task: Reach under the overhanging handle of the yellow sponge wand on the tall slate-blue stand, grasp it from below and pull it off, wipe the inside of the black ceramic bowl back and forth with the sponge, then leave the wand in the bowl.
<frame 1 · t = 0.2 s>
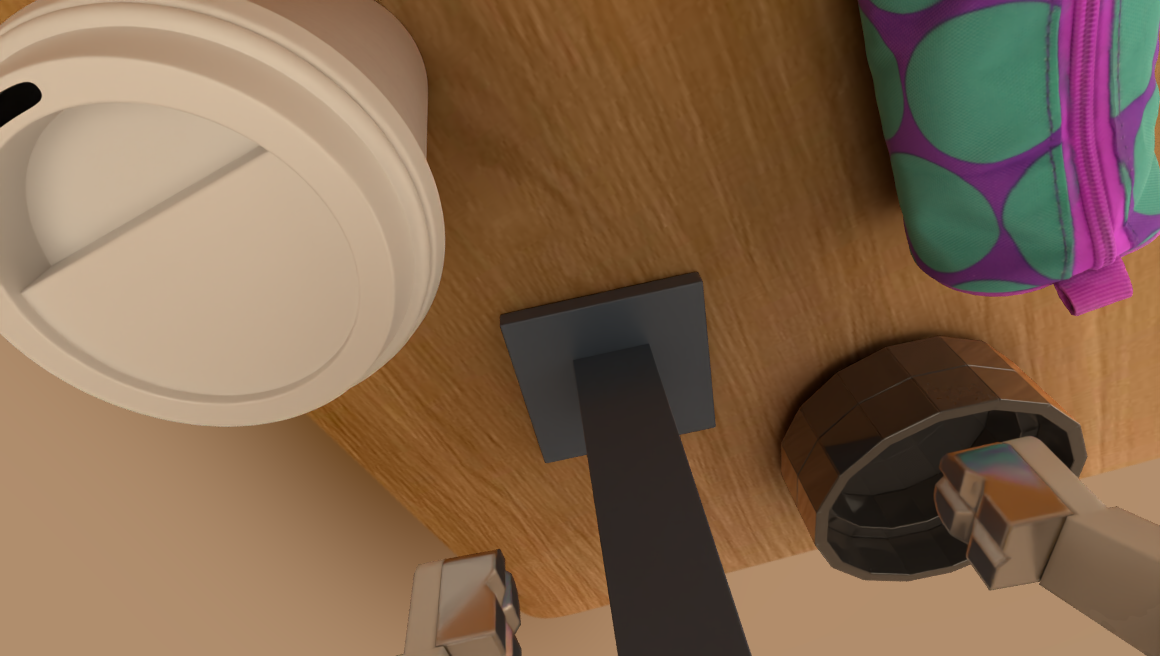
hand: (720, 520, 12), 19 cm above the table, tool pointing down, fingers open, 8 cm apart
stand: (614, 369, 34), on the table
bowl: (890, 424, 39), on the table
coffee cup: (343, 79, 24), on the table
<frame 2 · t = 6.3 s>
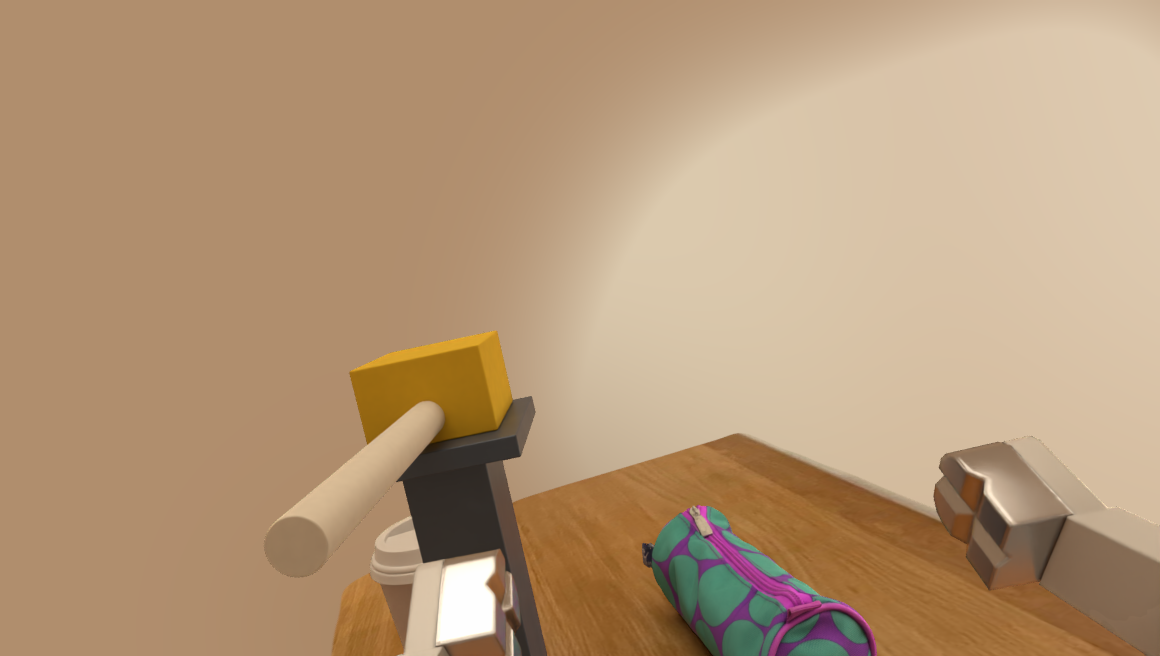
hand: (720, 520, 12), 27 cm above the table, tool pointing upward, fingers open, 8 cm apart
sponge wand: (448, 426, 31), point 26 cm above the table, touching stand
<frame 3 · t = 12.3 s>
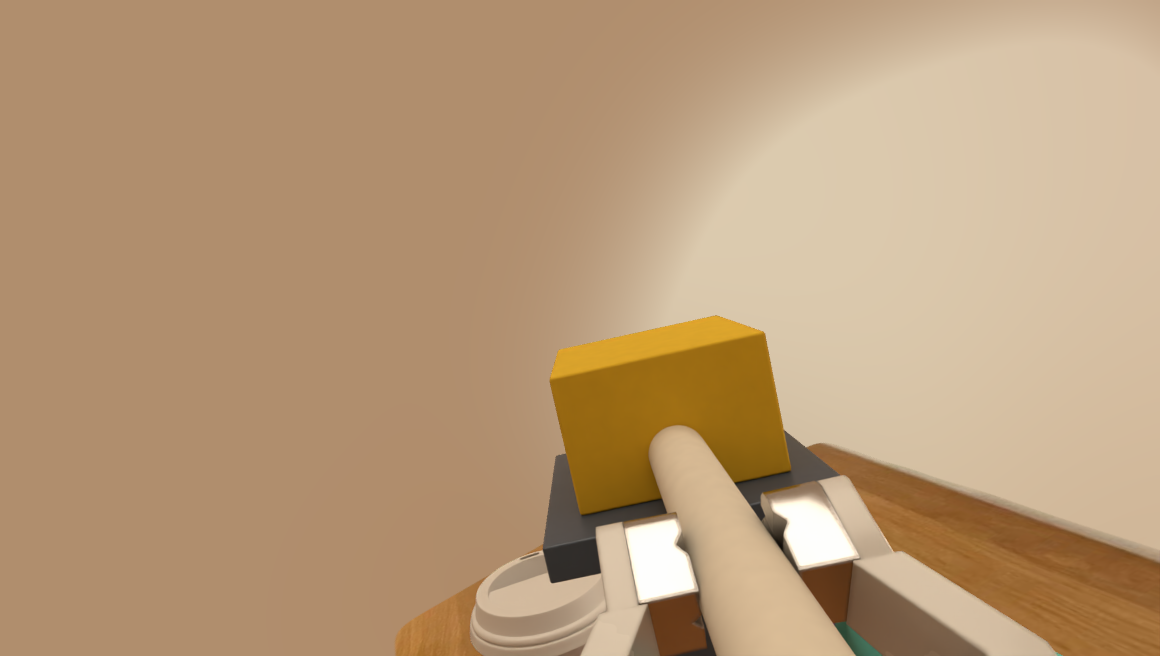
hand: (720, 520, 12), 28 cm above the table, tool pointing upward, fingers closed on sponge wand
sponge wand: (670, 461, 20), point 26 cm above the table, touching gripper, stand
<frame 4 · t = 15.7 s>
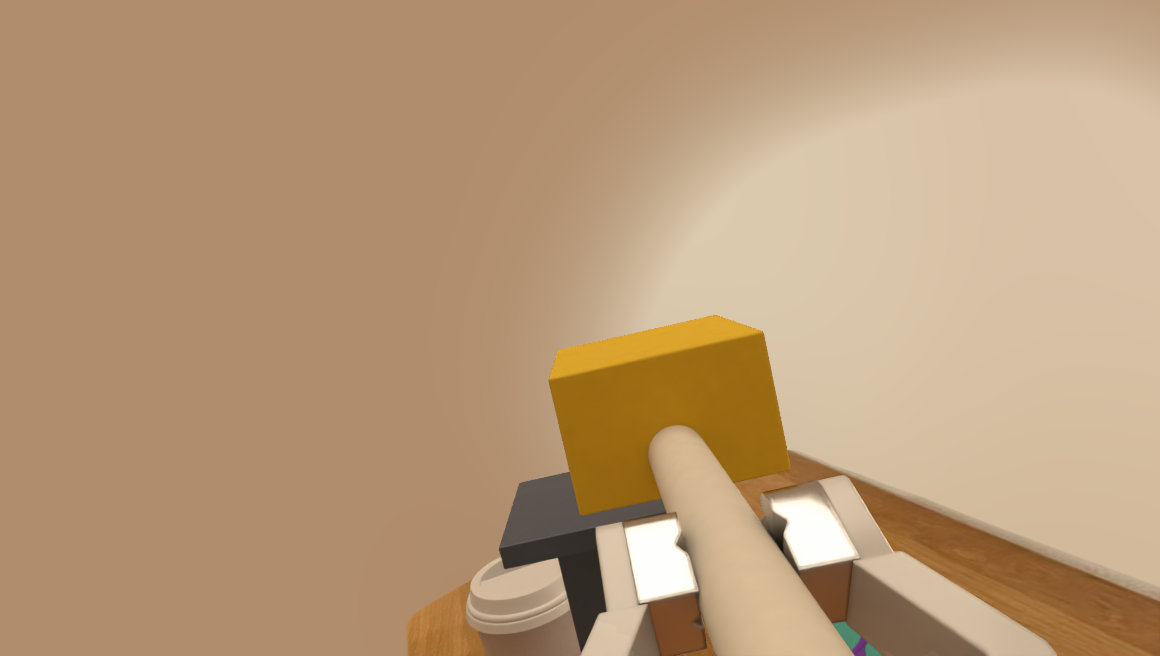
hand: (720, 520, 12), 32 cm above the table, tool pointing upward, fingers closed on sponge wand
sponge wand: (670, 461, 20), point 30 cm above the table, touching gripper
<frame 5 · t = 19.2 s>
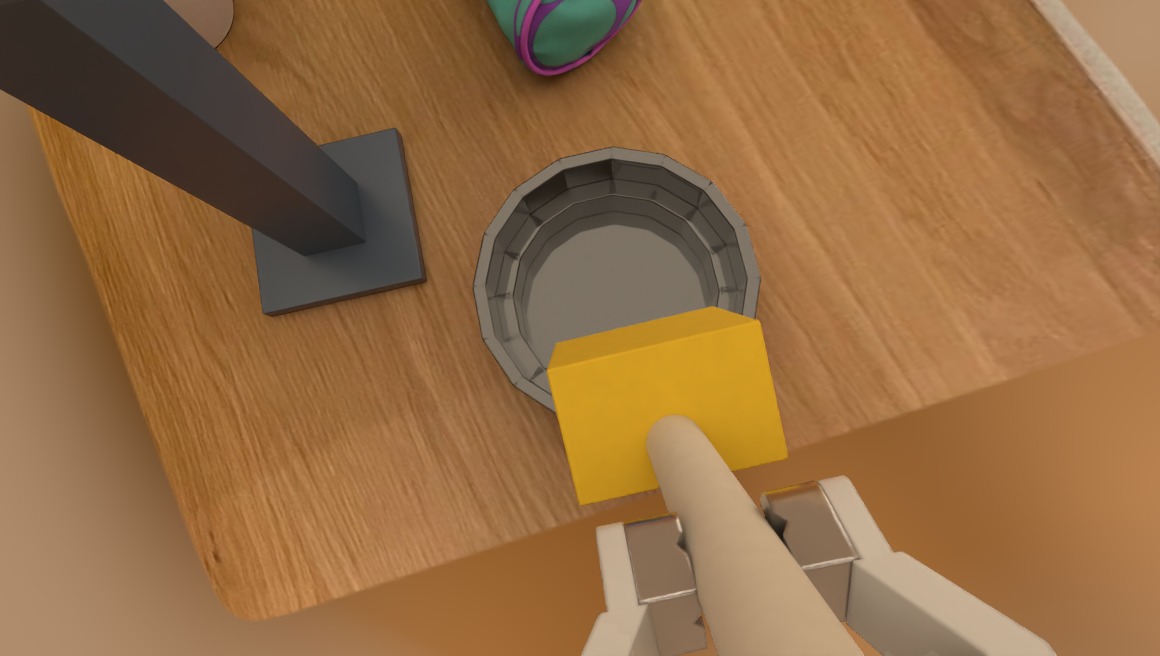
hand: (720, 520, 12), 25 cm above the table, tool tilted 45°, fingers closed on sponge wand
stand: (337, 224, 40), on the table
sponge wand: (669, 451, 20), point 16 cm above the table, tilted 75°, touching gripper
bowl: (615, 305, 38), on the table
coffee cup: (190, 18, 43), on the table
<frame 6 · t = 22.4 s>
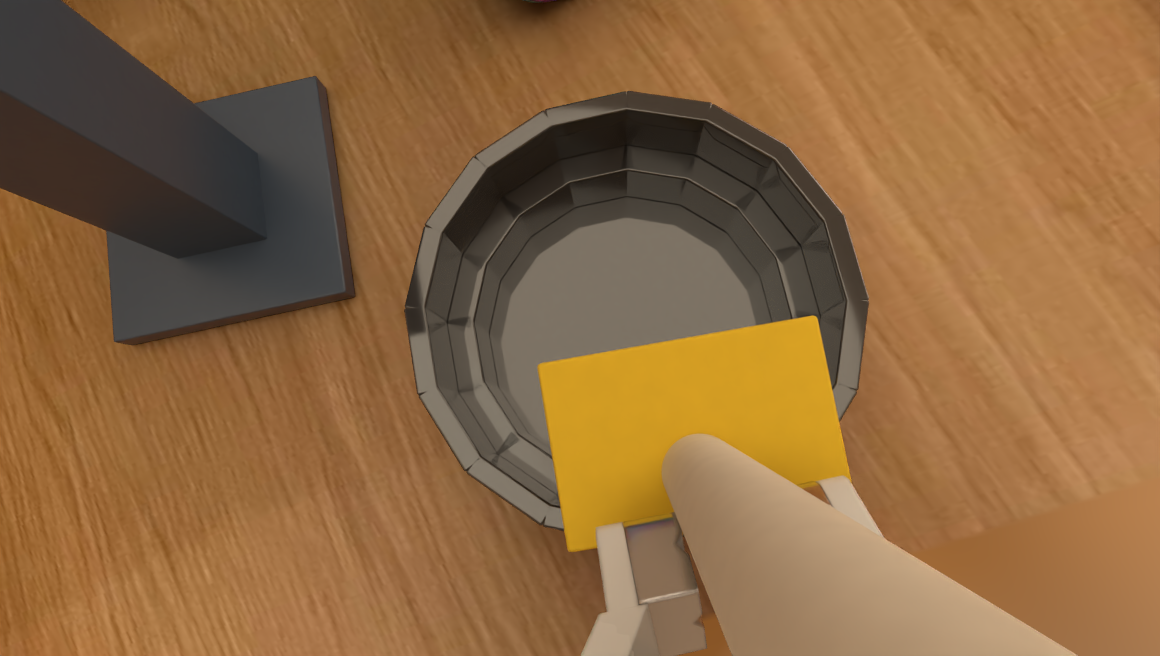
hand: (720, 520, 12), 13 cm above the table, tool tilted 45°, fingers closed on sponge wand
stand: (231, 213, 28), on the table
sponge wand: (694, 502, 16), point 9 cm above the table, tilted 85°, touching bowl, gripper
bowl: (629, 334, 26), on the table
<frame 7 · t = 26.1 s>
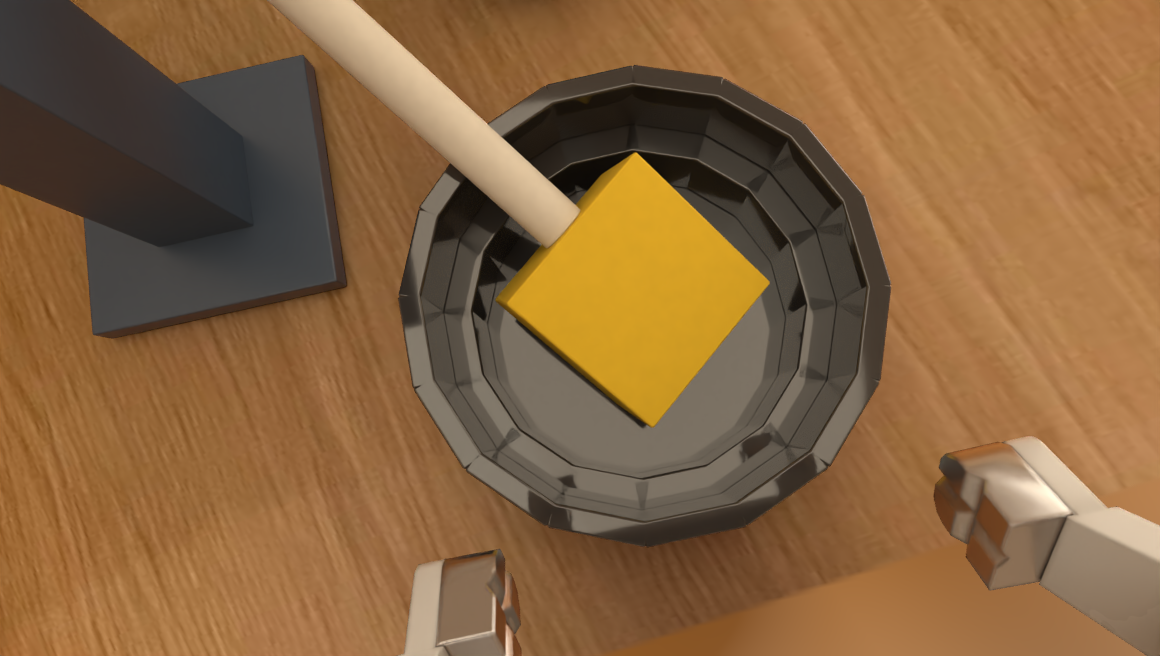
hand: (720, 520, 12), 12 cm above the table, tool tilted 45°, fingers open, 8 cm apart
stand: (215, 199, 27), on the table
sponge wand: (644, 292, 19), point 6 cm above the table, tilted 159°, touching bowl
bowl: (634, 324, 25), on the table
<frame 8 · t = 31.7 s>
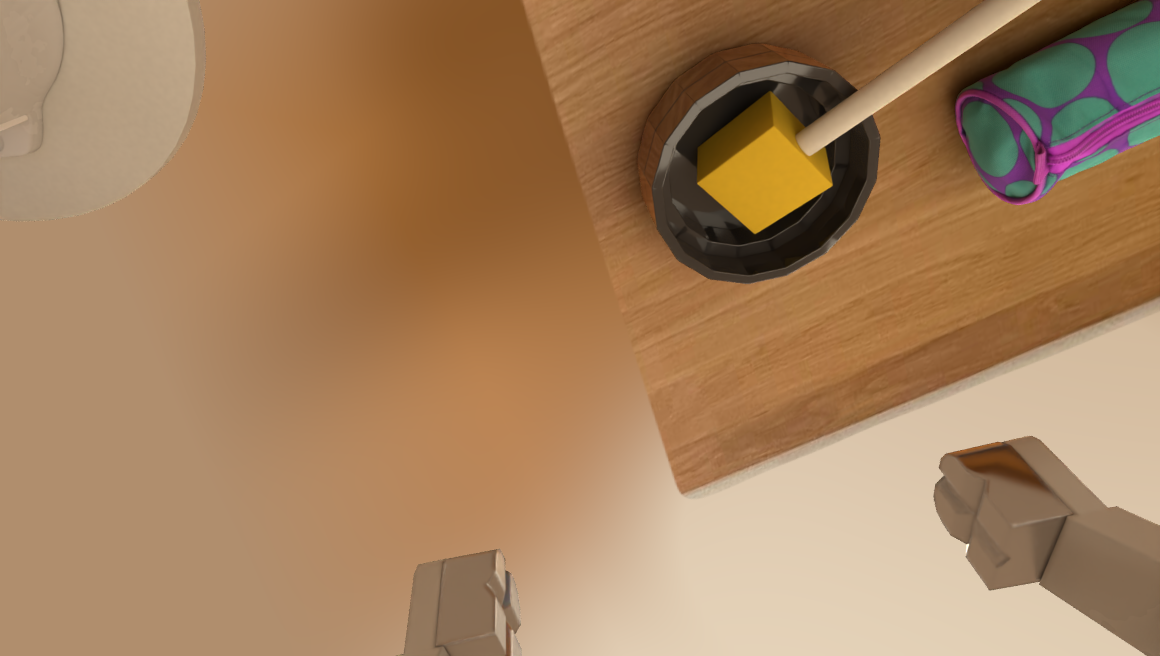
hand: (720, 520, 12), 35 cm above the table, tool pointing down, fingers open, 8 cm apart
sponge wand: (763, 184, 40), point 6 cm above the table, tilted 159°, touching bowl
pencil case: (1090, 57, 44), on the table
bowl: (736, 152, 45), on the table
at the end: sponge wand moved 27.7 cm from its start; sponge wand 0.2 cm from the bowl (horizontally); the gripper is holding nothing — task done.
